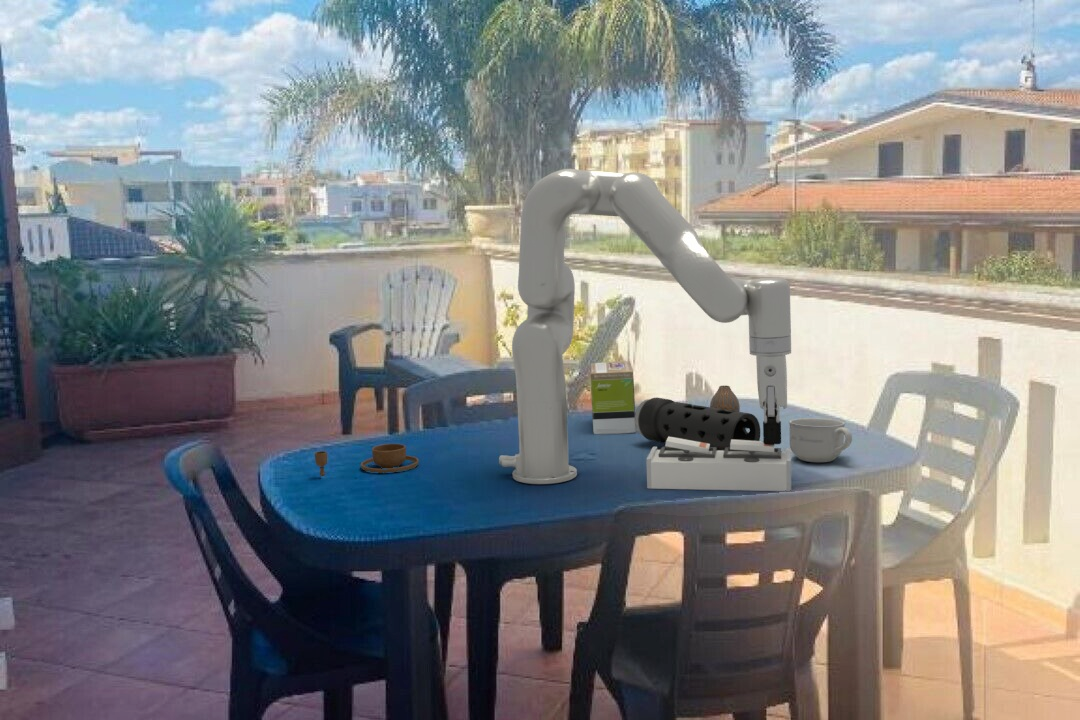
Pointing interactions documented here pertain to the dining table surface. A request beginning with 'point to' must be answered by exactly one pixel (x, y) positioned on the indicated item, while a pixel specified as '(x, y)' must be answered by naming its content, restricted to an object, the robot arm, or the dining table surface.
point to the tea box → (612, 398)
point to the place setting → (378, 459)
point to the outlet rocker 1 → (687, 445)
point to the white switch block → (719, 469)
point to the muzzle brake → (694, 423)
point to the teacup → (818, 438)
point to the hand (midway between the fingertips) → (772, 443)
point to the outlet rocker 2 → (751, 446)
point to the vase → (725, 399)
